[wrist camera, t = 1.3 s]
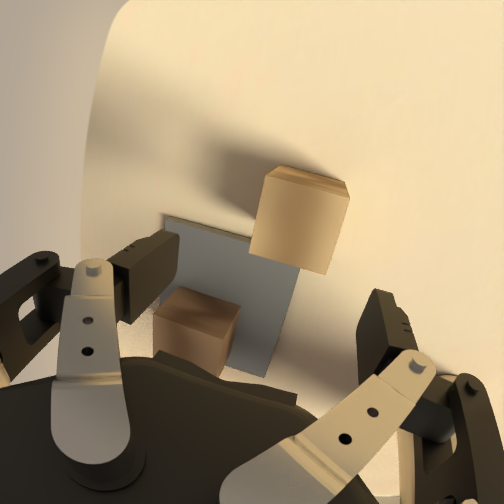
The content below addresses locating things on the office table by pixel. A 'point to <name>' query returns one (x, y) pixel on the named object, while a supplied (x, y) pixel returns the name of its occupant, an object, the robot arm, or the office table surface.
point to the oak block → (299, 218)
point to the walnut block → (196, 328)
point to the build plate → (235, 288)
